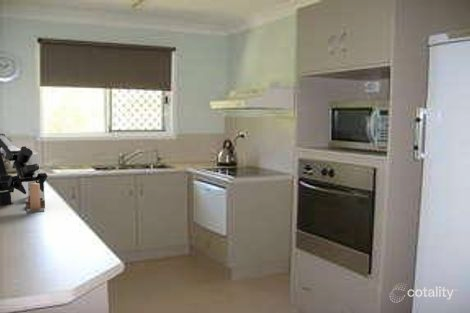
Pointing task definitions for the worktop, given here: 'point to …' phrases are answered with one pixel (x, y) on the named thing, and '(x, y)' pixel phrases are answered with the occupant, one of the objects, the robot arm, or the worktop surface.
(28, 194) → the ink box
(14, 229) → the worktop surface
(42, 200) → the socket block
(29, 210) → the mat
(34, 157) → the skyscraper
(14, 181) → the robot arm
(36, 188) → the peg
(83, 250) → the worktop surface
